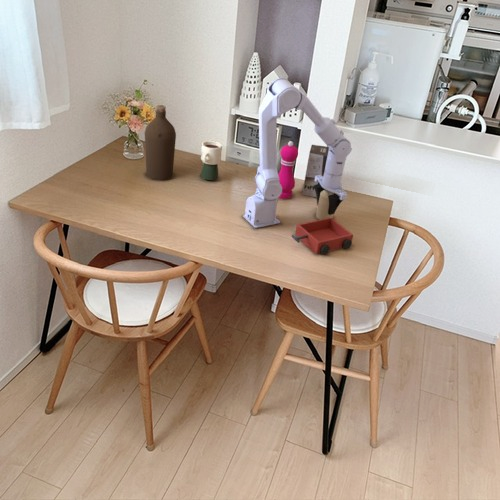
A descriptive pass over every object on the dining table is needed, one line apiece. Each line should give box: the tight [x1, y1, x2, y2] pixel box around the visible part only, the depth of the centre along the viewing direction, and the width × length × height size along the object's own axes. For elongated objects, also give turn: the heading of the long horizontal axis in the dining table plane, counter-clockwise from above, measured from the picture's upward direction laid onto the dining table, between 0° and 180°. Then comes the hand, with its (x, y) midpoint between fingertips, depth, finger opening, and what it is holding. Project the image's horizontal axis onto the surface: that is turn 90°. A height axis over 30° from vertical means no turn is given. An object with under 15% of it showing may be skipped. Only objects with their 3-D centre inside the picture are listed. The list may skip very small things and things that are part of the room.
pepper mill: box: [278, 140, 299, 200], centre depth 183 cm, size 7×7×20 cm
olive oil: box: [144, 104, 177, 181], centre depth 184 cm, size 11×11×25 cm
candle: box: [315, 189, 334, 220], centre depth 174 cm, size 6×6×10 cm
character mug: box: [200, 140, 223, 181], centre depth 190 cm, size 11×7×13 cm, turn 158°
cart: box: [294, 218, 354, 255], centre depth 163 cm, size 13×11×4 cm
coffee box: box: [301, 144, 329, 199], centre depth 189 cm, size 9×6×16 cm
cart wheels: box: [291, 234, 353, 255], centre depth 162 cm, size 17×13×3 cm
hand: (325, 209), depth 176 cm, fingers closed on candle, 5 cm apart
